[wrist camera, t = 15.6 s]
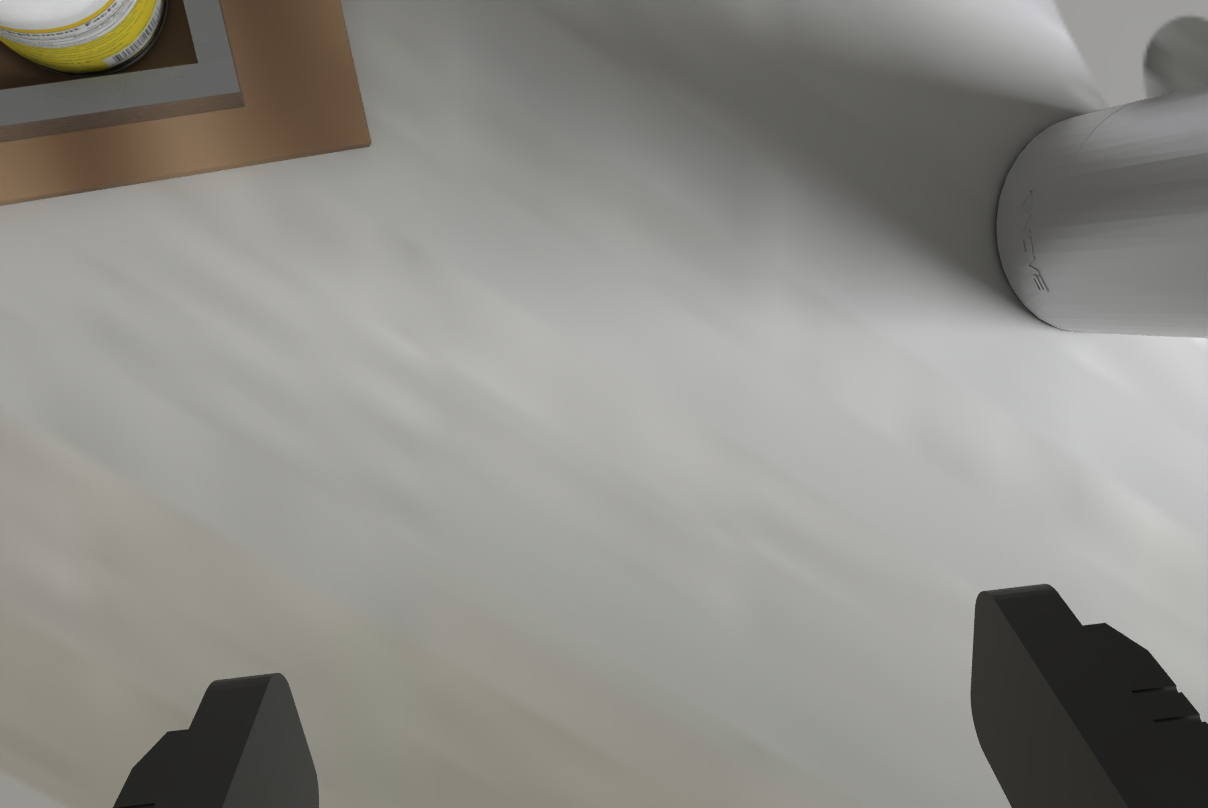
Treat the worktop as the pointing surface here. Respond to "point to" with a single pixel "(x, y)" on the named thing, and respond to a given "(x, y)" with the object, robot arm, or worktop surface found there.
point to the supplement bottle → (81, 33)
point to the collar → (132, 89)
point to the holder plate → (214, 139)
